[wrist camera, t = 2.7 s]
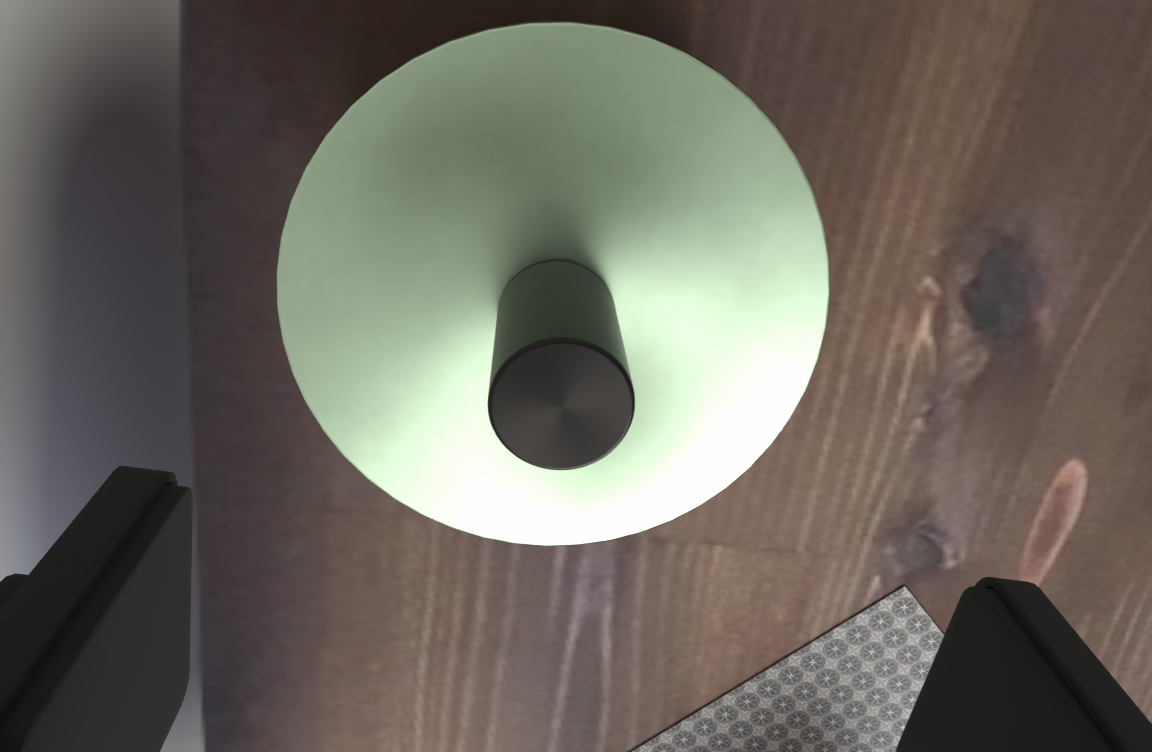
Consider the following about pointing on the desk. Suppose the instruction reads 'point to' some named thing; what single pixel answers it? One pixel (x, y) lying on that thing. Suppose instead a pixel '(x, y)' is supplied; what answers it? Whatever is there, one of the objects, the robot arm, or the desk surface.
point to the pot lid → (553, 283)
